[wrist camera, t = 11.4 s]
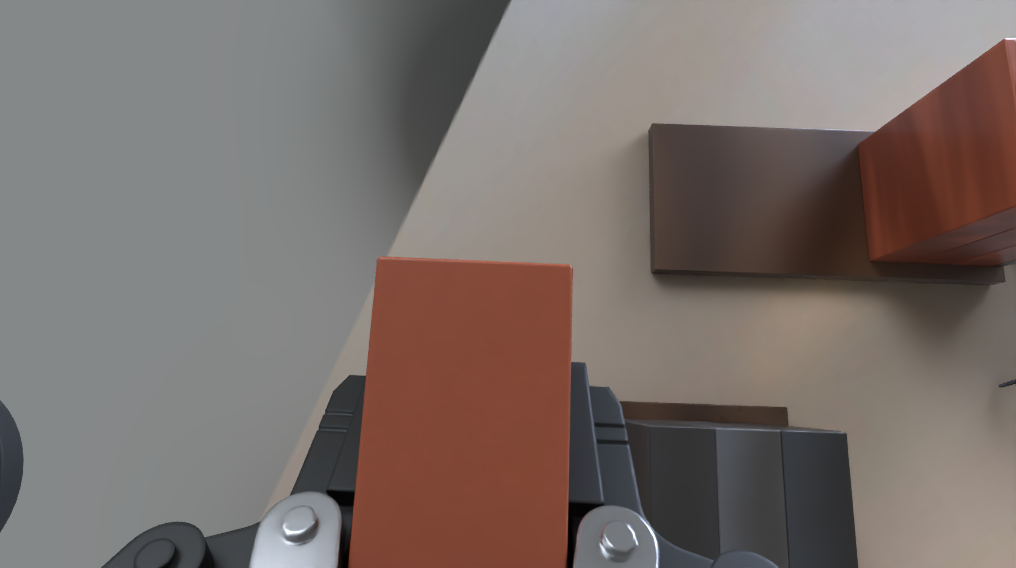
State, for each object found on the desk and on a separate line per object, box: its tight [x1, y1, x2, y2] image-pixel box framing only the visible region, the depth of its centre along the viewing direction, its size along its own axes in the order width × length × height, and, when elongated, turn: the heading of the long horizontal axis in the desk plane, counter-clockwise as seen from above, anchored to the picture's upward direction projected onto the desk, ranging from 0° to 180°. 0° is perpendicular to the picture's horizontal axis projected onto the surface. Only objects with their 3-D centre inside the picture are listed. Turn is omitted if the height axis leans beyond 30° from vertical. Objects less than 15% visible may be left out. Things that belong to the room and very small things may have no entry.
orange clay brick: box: [348, 257, 573, 568], centre depth 14 cm, size 3×8×11 cm, turn 177°
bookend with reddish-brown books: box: [648, 38, 1016, 285], centre depth 31 cm, size 22×10×12 cm, turn 88°
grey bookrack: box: [619, 401, 858, 568], centre depth 28 cm, size 13×10×10 cm
